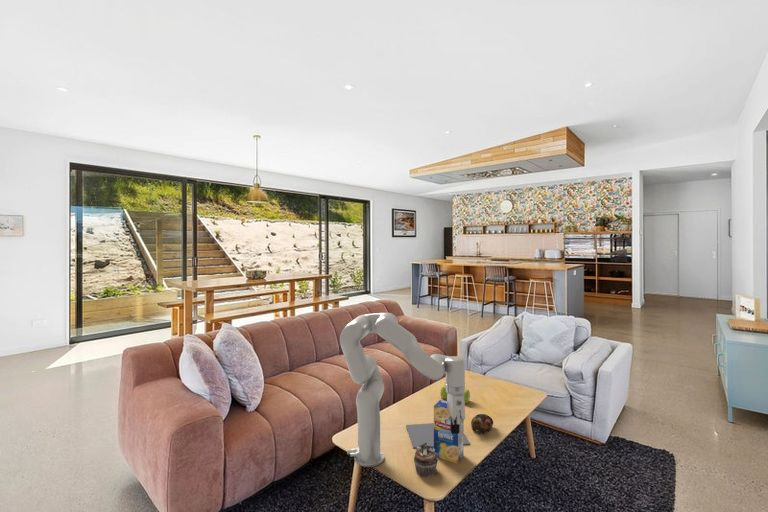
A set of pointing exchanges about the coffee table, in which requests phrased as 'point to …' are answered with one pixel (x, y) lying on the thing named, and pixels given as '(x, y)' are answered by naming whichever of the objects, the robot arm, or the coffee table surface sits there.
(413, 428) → the mat
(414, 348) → the robot arm
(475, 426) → the decorative turtle
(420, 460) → the cupcake
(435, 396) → the coffee table surface
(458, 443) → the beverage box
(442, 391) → the dumbbell
